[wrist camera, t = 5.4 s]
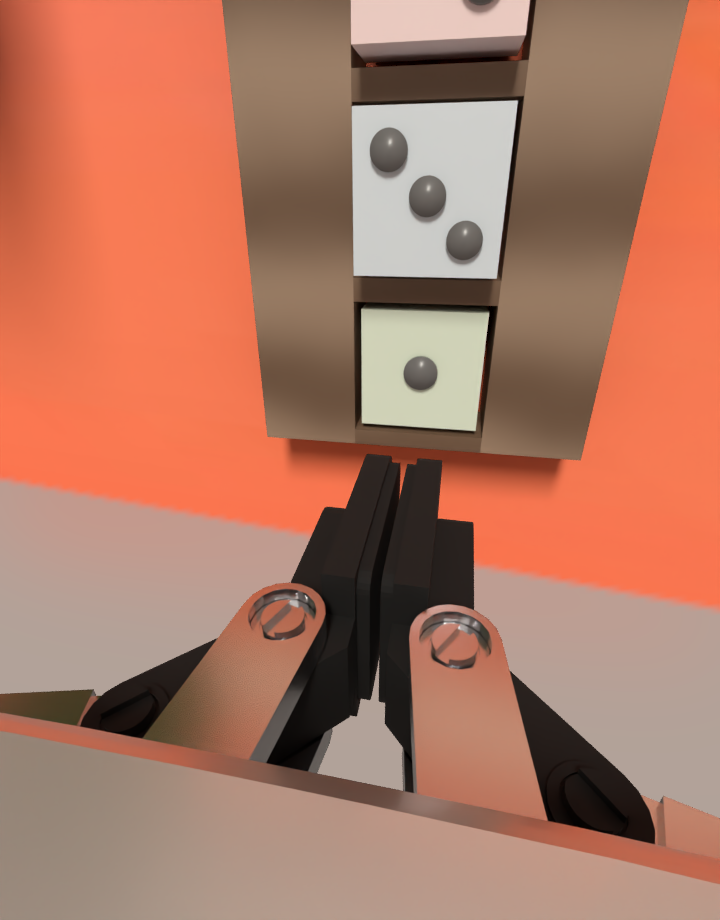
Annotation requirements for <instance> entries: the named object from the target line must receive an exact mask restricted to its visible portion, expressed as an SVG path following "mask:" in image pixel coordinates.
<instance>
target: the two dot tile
mask: <svg viewBox="0 0 720 920" xmlns="http://www.w3.org/2000/svg"><path fill="white" fill-rule="evenodd" d="M529 4H530V0H351V45H352V46H353V48H354V49H355V50H356V51H357V53H358V54H359V55H360V57H361V58H362V59H363V61H364V62H365V63H372V62H394V61H415V60H437V59H458V58H480V57H501V56H517V55H518V53H519V50H520V48H521V45H522V43H523V41H524V38H525V36H526V29H527V21H528V12H529Z"/></svg>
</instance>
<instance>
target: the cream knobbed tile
mask: <svg viewBox="0 0 720 920" xmlns="http://www.w3.org/2000/svg"><path fill="white" fill-rule="evenodd" d="M488 319H489V310H488V306H483V305H450V304H416V303H383V302H367V303H366V304H365V305H364V307H363V308H362V309H361V340H362V423H367V424H382V425H396V426H411V427H425V428H440V429H454V430H469V431H476V422H477V414H478V405H479V397H480V388H481V380H482V371H483V362H484V354H485V345H486V337H487V328H488Z"/></svg>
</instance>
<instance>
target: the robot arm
mask: <svg viewBox="0 0 720 920" xmlns="http://www.w3.org/2000/svg"><path fill="white" fill-rule="evenodd" d="M441 472H442V460H430V459H419V458H418V460H417V465H414V464H407V468H406V473H405V477H404V482H403V486H402V490H401V495H400V463H392V457H391V456H384V455H373V454H367V455H366V457H365V460H364V462H363V465H362V467H361V470H360V473H359V475H358V478H357V481H356V483H355V486H354V488H353V491H352V494H351V496H350V499H349V501H348V504H347V507H346V509H344V508H334V507H326V508H324V510H323V512H322V514H321V516H320V518H319V521H318V523H317V525H316V527H315V530H314V532H313V534H312V536H311V538H310V541H309V543H308V545H307V548H306V550H305V552H304V554H303V556H302V558H301V561H300V563H299V565H298V567H297V570H296V572H295V574H294V576H293V579H292V581H291V583H281V584H275V585H272V586H268V587H265V588H263V589H261V590H259V591H258V592H256V593H254V594H253V595H252V596H251V597H250V598H249V599H248V600H247V601H246V602H245V603H244V604H243V606H242V607H241V608H240V610H239V611H238V613H236V615H235V616H234V617H233V619H232V621H230V623H229V624H228V626H227V627H226V628H225V629H224V631H223V632H222V634H221V635H220V636H219V637H218V638H217V639H214V640H212V641H211V642H208V643H206V644H204V645H202V646H200V647H197V648H195V649H193V650H191V651H189V652H187V653H184V654H182V655H180V656H178V657H176V658H174V659H172V660H169V661H167V662H165V663H163V664H161V665H159V666H157V667H154V668H152V669H150V670H148V671H146V672H144V673H142V674H140V675H137V676H135V677H133V678H131V679H129V680H127V681H124V682H122V683H120V684H119V685H117V686H115V687H114V688H112V689H110V690H108V691H107V692H105V693H104V694H103V695H102V696H96V694H95V692H94V689H93V690H72V691H52V692H32V693H10V694H0V920H720V818H717V817H715V816H712V815H710V814H708V813H705V812H703V811H700V810H697V809H695V808H693V807H690V806H687V805H685V804H682V803H680V802H677V801H675V800H672V799H670V798H667V797H665V796H663V797H662V799H661V801H660V803H659V802H657V801H654V800H652V799H649V798H647V797H645V796H642V795H640V793H639V791H638V790H637V789H636V788H635V787H634V786H633V784H632V783H631V782H630V781H629V780H628V779H627V778H626V777H625V776H624V775H623V774H622V773H621V772H620V771H619V770H618V769H617V768H616V767H615V766H613V765H612V764H611V763H610V762H609V761H608V760H607V759H606V758H605V757H604V756H603V755H602V754H600V753H599V752H598V751H597V750H596V749H595V748H594V747H593V746H592V745H591V744H589V743H588V742H587V741H586V740H585V739H584V738H583V737H582V736H581V735H580V734H579V733H577V732H576V731H575V730H574V729H573V728H572V727H571V726H570V725H569V724H568V723H566V722H565V721H564V720H563V719H562V718H561V717H560V716H559V715H558V714H557V713H556V712H554V711H553V710H552V709H551V708H550V707H549V706H548V705H547V704H546V703H545V702H543V701H542V700H541V699H540V698H539V697H538V696H537V695H536V694H535V693H534V692H533V691H531V690H530V689H529V688H528V687H527V686H526V685H525V684H524V683H522V681H520V680H519V679H518V678H517V677H516V676H515V675H514V674H513V673H512V672H511V671H510V670H509V667H508V663H507V659H506V655H505V651H504V647H503V643H502V639H501V637H500V635H499V633H498V631H497V629H496V627H495V626H494V625H493V624H492V623H491V622H490V621H489V620H488V619H487V618H486V617H484V616H483V615H481V614H480V613H478V612H477V611H475V610H474V529H473V522H466V521H456V520H447V519H438V507H439V495H440V484H441ZM399 495H400V499H399ZM379 655H380V657H379ZM379 658H380V660H379ZM378 660H379V702H384V703H385V724H386V726H387V727H388V728H389V730H390V731H391V732H392V734H393V735H394V736H395V738H396V739H397V740H398V741H399V743H400V744H401V745H402V747H403V752H402V767H403V791H400V790H396V789H391V788H386V787H381V786H376V785H371V784H366V783H361V782H356V781H351V780H346V779H341V778H336V777H331V776H326V775H322V774H317V772H318V770H319V767H320V765H321V763H322V760H323V758H324V755H325V753H326V750H327V748H328V746H329V743H330V739H331V735H332V728H333V727H334V726H336V725H338V724H339V723H341V722H342V721H344V720H345V719H347V718H349V717H350V715H351V716H357V713H358V709H359V704H360V699H367V700H370V699H371V696H372V691H373V686H374V681H375V676H376V671H377V666H378Z"/></svg>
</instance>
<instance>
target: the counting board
mask: <svg viewBox="0 0 720 920" xmlns="http://www.w3.org/2000/svg"><path fill="white" fill-rule="evenodd" d="M688 2H689V0H530V4H529V12H528V21H527V29H526V36H525V38H524V42H523V51H522V59H521V60H520V61H498V62H476V63H454V64H431V65H409V66H387V67H366V63H365V62H364V61H363V59H362V58H361V57H360V55H359V54H358V53H357V51H356V50H355V49H354V48H353V46H352V45H351V0H222V5H223V14H224V24H225V33H226V43H227V52H228V62H229V72H230V81H231V91H232V100H233V110H234V120H235V129H236V139H237V148H238V158H239V168H240V177H241V187H242V196H243V206H244V215H245V225H246V235H247V244H248V254H249V263H250V273H251V283H252V292H253V302H254V311H255V321H256V330H257V340H258V350H259V359H260V369H261V378H262V388H263V398H264V407H265V417H266V426H267V436H268V437H278V438H291V439H305V440H318V441H331V442H344V443H357V444H371V445H384V446H397V447H410V448H424V449H437V450H450V451H463V452H477V453H490V454H503V455H516V456H529V457H543V458H556V459H569V460H581V457H582V452H583V448H584V444H585V440H586V435H587V431H588V427H589V423H590V418H591V414H592V410H593V406H594V401H595V397H596V393H597V389H598V384H599V380H600V376H601V372H602V367H603V363H604V359H605V355H606V350H607V346H608V342H609V338H610V333H611V329H612V325H613V321H614V316H615V312H616V308H617V304H618V299H619V295H620V291H621V287H622V282H623V278H624V274H625V270H626V265H627V261H628V257H629V253H630V248H631V244H632V240H633V236H634V231H635V227H636V223H637V219H638V214H639V210H640V206H641V201H642V197H643V193H644V189H645V184H646V180H647V176H648V172H649V167H650V163H651V159H652V155H653V150H654V146H655V142H656V138H657V133H658V129H659V125H660V121H661V116H662V112H663V108H664V104H665V99H666V95H667V91H668V87H669V82H670V78H671V74H672V70H673V65H674V61H675V57H676V53H677V48H678V44H679V40H680V36H681V31H682V27H683V23H684V19H685V14H686V10H687V6H688ZM488 101H518V104H517V113H516V121H515V129H514V138H513V146H512V155H511V163H510V171H509V180H508V188H507V196H506V205H505V213H504V221H503V230H502V238H501V246H500V255H499V263H498V272H497V279H487V278H441V277H395V276H354V267H353V175H352V106H366V105H397V104H427V103H458V102H488ZM366 302H383V303H416V304H450V305H483V306H492V312H491V320H490V329H489V337H488V346H487V354H486V363H485V371H484V379H483V388H482V396H481V405H480V412H478V414H477V422H476V431H469V430H454V429H440V428H425V427H411V426H396V425H382V424H367V423H362V340H361V309H362V308H363V307H364V305H365V304H366Z"/></svg>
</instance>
